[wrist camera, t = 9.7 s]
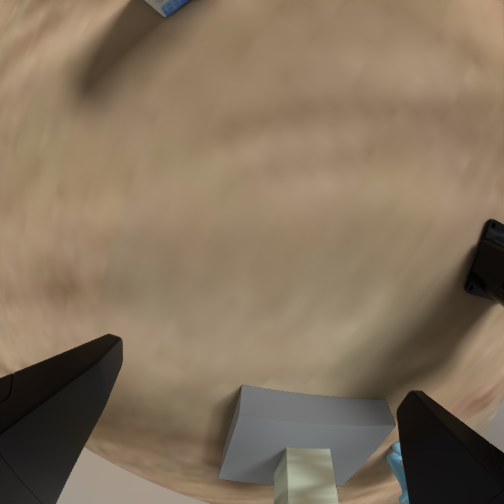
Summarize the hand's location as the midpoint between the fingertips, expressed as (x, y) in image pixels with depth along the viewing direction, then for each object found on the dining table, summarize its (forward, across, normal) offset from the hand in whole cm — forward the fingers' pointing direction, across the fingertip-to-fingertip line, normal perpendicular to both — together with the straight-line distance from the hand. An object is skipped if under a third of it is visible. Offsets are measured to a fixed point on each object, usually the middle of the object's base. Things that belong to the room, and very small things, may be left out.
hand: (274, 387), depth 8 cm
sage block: (+9, -8, +18) cm, 22 cm away
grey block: (+13, -8, +18) cm, 23 cm away
